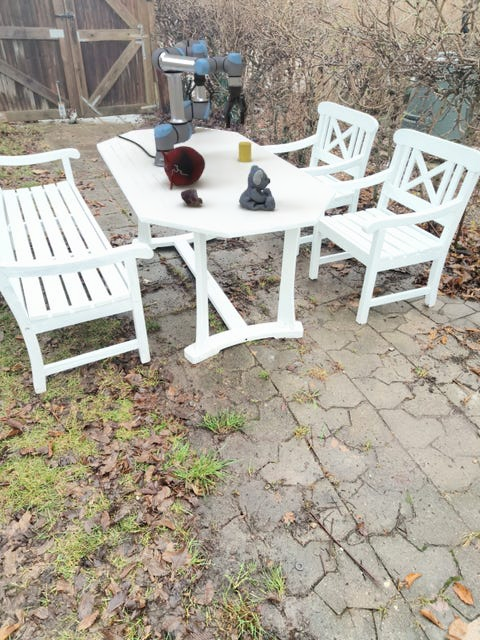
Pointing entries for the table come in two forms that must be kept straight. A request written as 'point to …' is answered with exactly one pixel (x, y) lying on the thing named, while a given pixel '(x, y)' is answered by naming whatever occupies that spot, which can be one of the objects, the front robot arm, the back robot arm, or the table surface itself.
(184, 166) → the dark red rounded lump
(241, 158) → the tin
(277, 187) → the table surface
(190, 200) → the rock
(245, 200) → the koala plush
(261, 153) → the table surface
